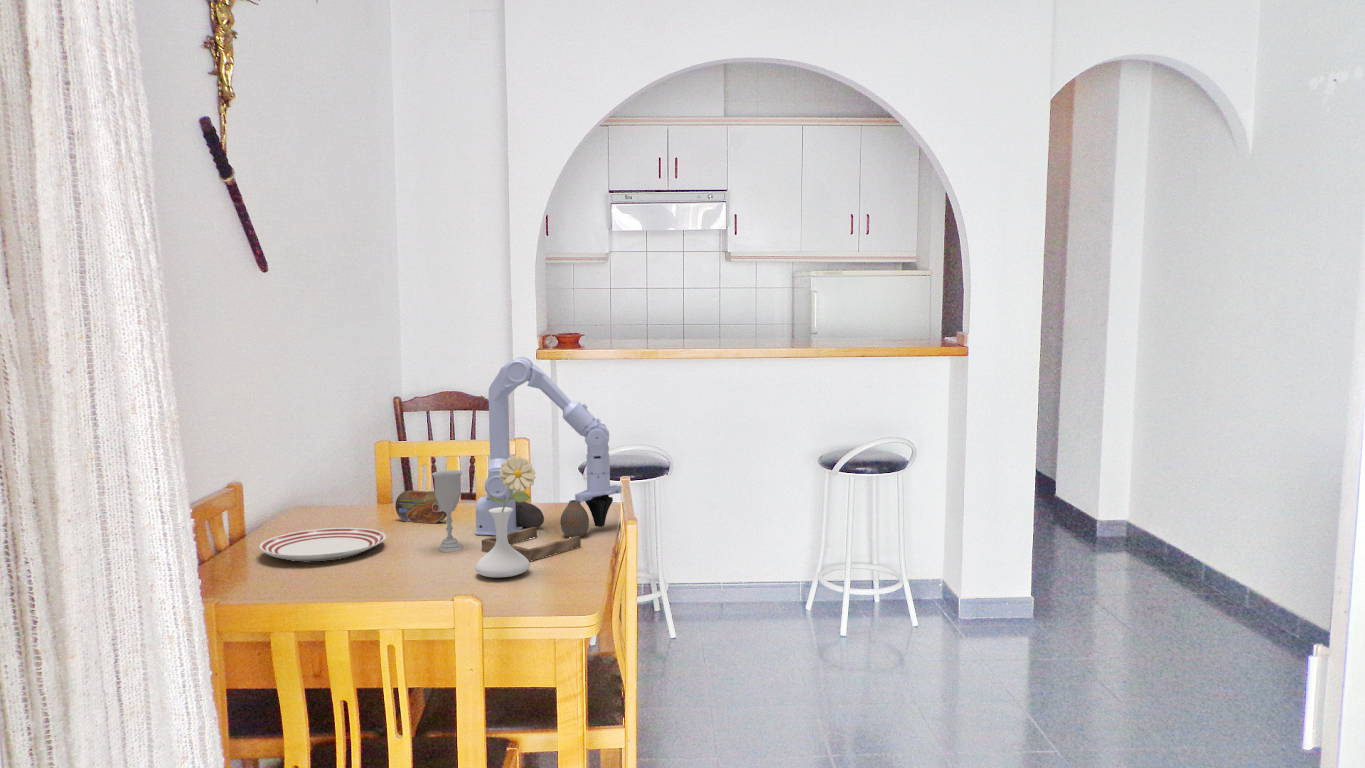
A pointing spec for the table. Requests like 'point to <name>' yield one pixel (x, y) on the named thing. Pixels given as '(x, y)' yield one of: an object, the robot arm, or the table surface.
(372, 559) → the table surface
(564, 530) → the vase
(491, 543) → the tray
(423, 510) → the tin
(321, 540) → the dinner plate
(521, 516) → the perforated stone tool
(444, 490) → the chalice
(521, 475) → the flower in vase
